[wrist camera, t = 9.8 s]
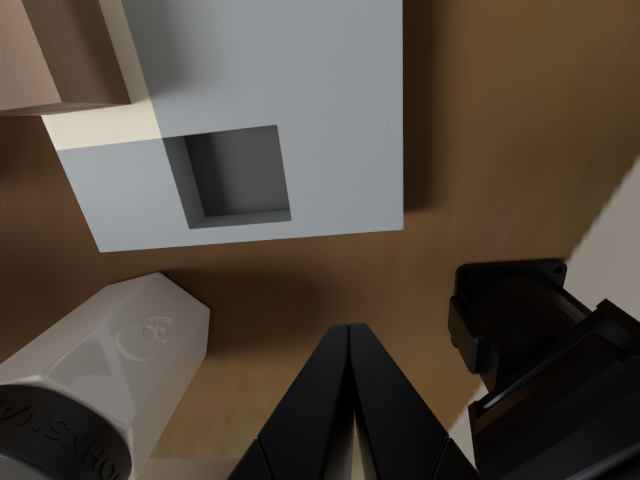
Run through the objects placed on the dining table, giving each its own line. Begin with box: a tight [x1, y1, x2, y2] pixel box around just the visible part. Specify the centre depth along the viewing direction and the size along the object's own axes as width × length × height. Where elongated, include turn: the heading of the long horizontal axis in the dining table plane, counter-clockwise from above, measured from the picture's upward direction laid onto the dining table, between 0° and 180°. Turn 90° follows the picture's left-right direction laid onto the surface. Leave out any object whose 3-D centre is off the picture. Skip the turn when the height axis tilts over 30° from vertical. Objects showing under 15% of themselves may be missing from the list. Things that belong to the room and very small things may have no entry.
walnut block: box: [0, 0, 132, 116], centre depth 12 cm, size 5×5×4 cm
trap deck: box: [41, 0, 403, 252], centre depth 15 cm, size 18×20×2 cm
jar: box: [0, 272, 210, 480], centre depth 18 cm, size 9×8×12 cm
